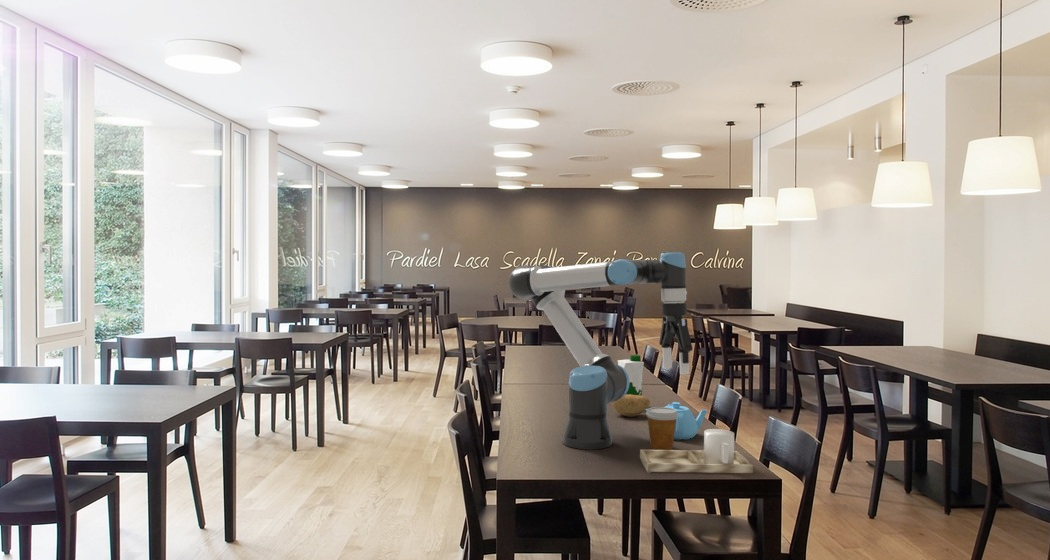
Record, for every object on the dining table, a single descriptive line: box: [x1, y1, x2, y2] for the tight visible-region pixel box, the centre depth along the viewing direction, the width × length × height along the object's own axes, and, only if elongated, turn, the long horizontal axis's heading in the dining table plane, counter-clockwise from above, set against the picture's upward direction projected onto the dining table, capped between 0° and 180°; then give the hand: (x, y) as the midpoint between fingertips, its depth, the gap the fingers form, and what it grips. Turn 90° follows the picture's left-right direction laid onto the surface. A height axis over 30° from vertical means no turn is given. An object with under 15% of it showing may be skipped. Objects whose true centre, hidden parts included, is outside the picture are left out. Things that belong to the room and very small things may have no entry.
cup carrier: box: [639, 449, 754, 474], centre depth 185 cm, size 28×14×2 cm, turn 89°
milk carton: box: [617, 354, 645, 396], centre depth 264 cm, size 9×9×20 cm
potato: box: [611, 394, 651, 417], centre depth 247 cm, size 10×14×8 cm
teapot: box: [645, 401, 708, 441], centre depth 220 cm, size 15×15×11 cm
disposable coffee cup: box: [645, 406, 678, 450], centre depth 202 cm, size 10×10×12 cm
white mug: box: [703, 428, 735, 464], centre depth 184 cm, size 8×11×9 cm
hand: (675, 371), depth 206 cm, fingers open, 13 cm apart
